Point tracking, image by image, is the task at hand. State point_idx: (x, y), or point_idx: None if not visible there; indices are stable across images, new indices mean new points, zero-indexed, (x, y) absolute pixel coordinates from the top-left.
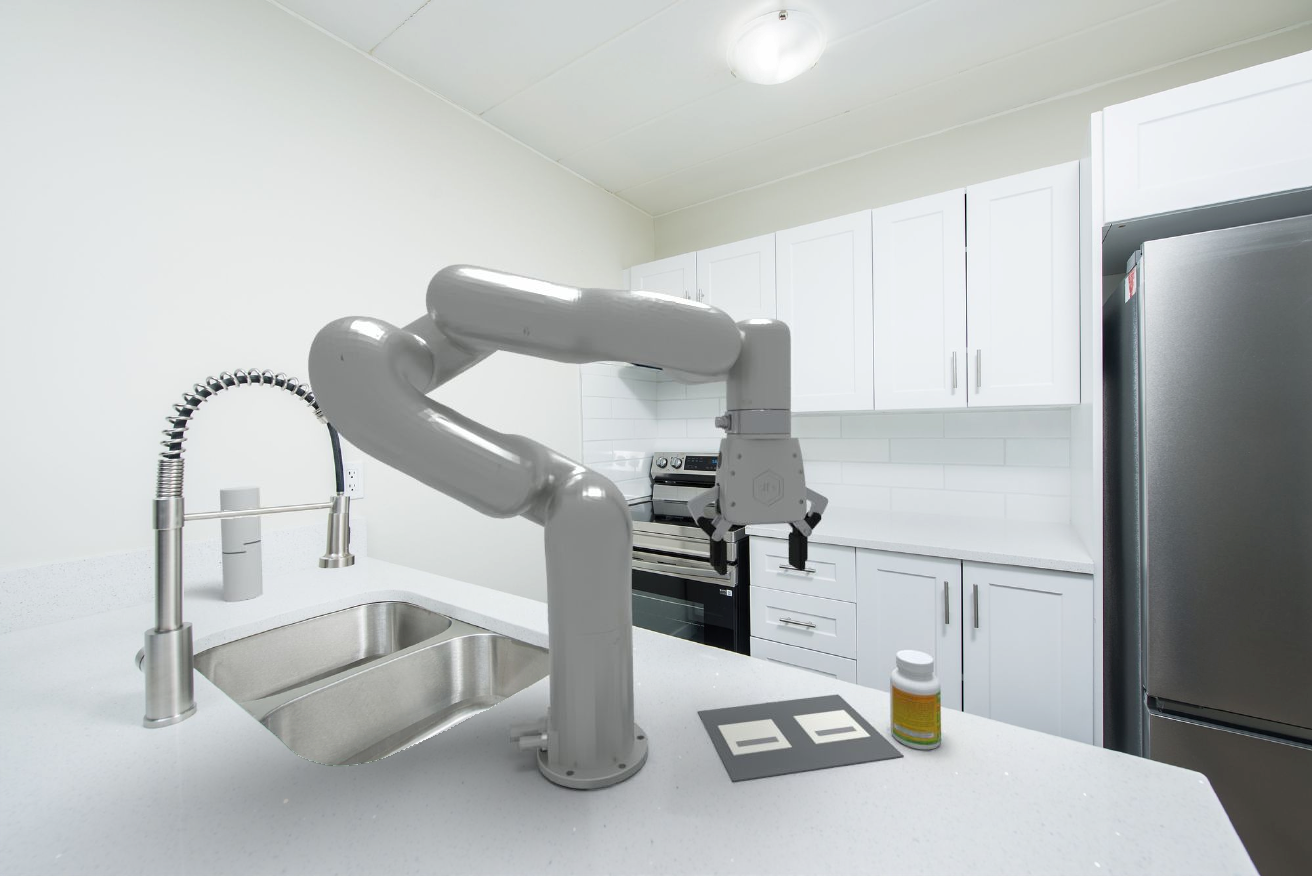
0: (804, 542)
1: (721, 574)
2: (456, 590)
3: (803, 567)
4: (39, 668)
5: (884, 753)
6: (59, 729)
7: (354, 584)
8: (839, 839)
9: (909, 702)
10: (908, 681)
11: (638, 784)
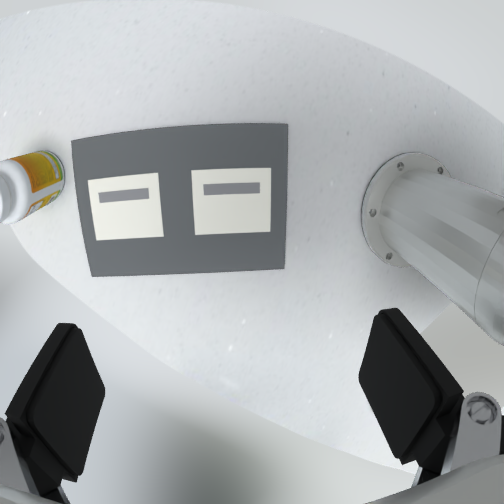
0: (16, 395)
1: (395, 308)
2: (412, 463)
3: (62, 326)
4: None
5: (88, 146)
6: None
7: None
8: (209, 27)
9: (29, 164)
10: (13, 175)
11: (382, 149)
